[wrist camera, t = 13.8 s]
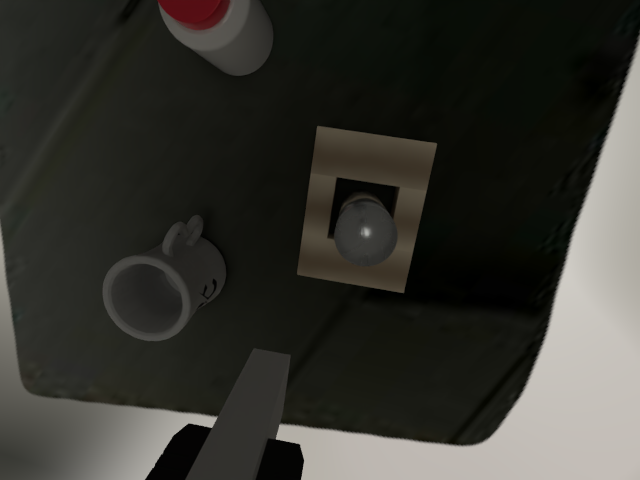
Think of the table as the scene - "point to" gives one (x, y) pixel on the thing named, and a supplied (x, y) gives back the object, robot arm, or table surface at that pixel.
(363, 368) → the table surface
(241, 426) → the robot arm
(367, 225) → the grey cylindrical peg
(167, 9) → the pill bottle
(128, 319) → the mug
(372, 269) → the jig
